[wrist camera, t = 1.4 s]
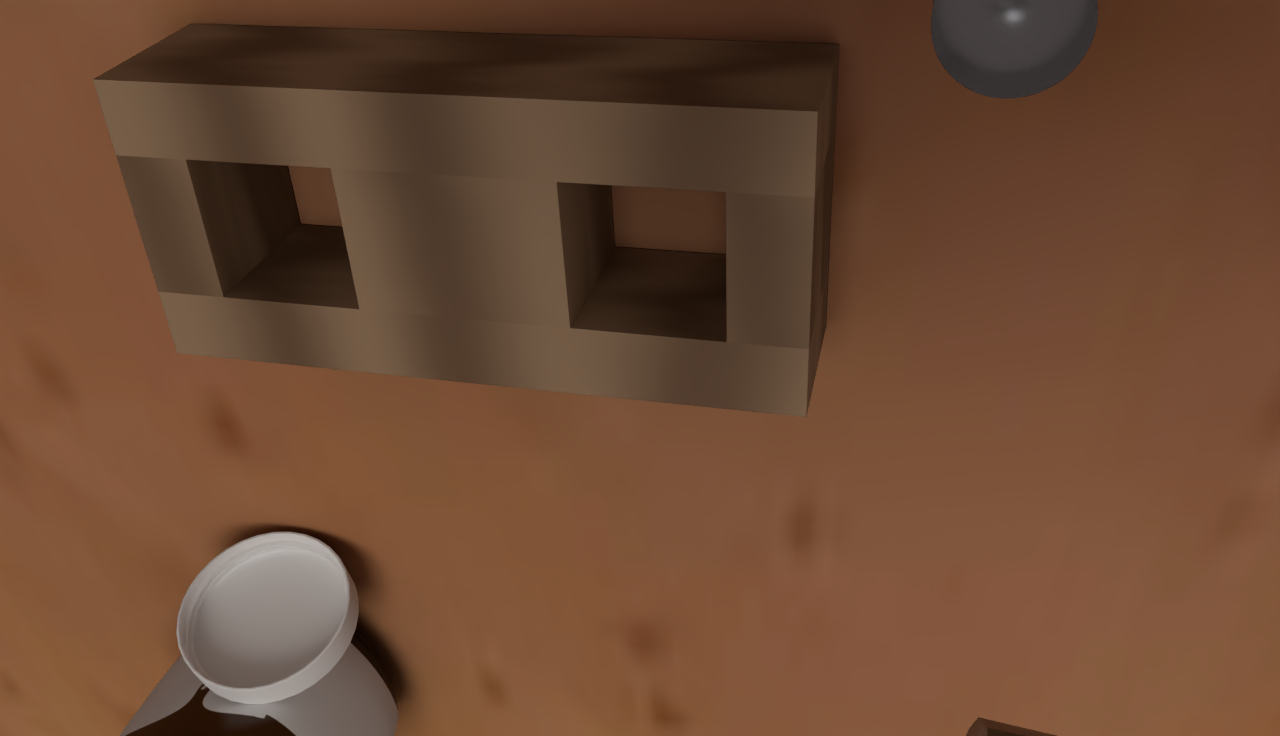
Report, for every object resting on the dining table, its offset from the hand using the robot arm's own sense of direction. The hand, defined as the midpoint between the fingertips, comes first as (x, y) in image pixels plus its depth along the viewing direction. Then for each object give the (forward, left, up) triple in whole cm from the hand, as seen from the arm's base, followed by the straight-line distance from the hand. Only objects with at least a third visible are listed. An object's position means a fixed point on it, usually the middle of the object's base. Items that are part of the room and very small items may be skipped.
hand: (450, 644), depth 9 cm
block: (+9, +8, -26) cm, 29 cm away
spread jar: (+21, +30, -26) cm, 45 cm away
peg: (-5, 0, -26) cm, 27 cm away
